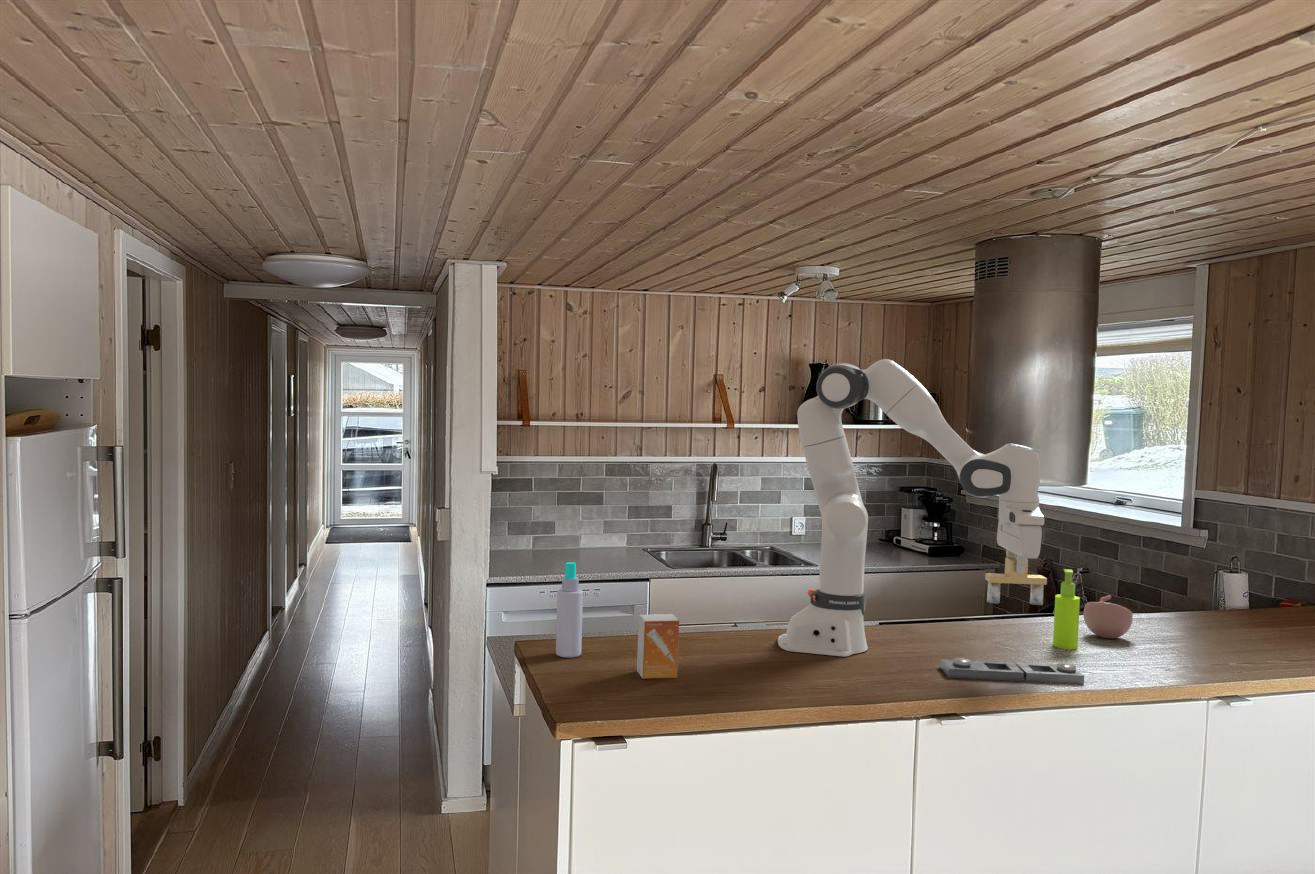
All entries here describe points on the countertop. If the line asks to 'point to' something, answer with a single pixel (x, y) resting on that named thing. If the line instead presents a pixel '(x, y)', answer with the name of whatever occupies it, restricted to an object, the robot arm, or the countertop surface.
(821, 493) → the robot arm
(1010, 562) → the tan bridge piece
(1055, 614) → the soap dispenser
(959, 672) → the plate
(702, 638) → the countertop surface
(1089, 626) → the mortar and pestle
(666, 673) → the small box
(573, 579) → the spray bottle
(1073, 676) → the right chain end
